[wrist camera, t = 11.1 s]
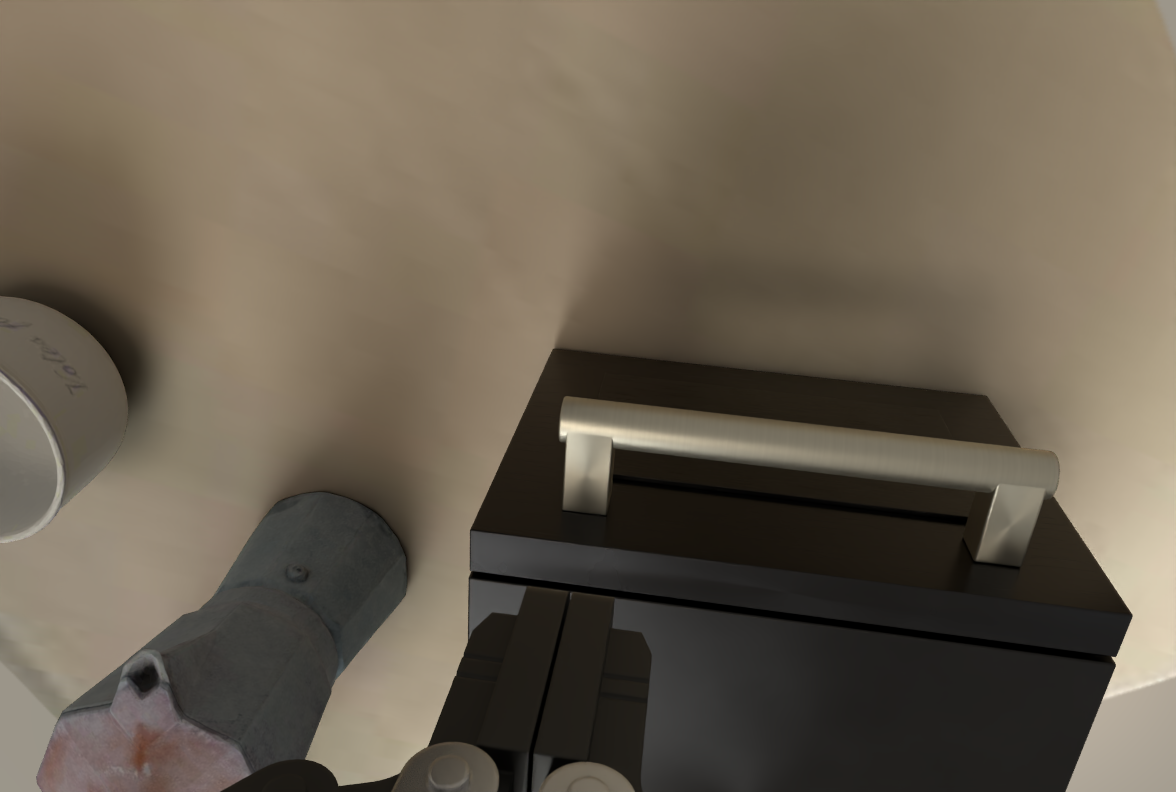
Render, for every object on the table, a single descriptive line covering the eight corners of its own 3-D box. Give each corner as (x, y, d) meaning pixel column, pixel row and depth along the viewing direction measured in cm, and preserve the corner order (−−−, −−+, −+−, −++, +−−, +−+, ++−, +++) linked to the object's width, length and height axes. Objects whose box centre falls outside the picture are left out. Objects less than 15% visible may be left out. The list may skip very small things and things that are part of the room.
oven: (551, 382, 43) (468, 577, 29) (975, 430, 41) (1117, 664, 27) (538, 643, 50) (464, 908, 35) (902, 694, 48) (984, 996, 33)
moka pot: (411, 448, 46) (209, 746, 27) (427, 682, 52) (273, 1048, 34) (235, 434, 47) (-71, 711, 29) (272, 664, 53) (42, 1011, 35)
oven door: (556, 272, 40) (470, 423, 26) (1008, 317, 39) (1177, 507, 24) (551, 379, 43) (469, 571, 29) (978, 426, 41) (1116, 657, 27)
